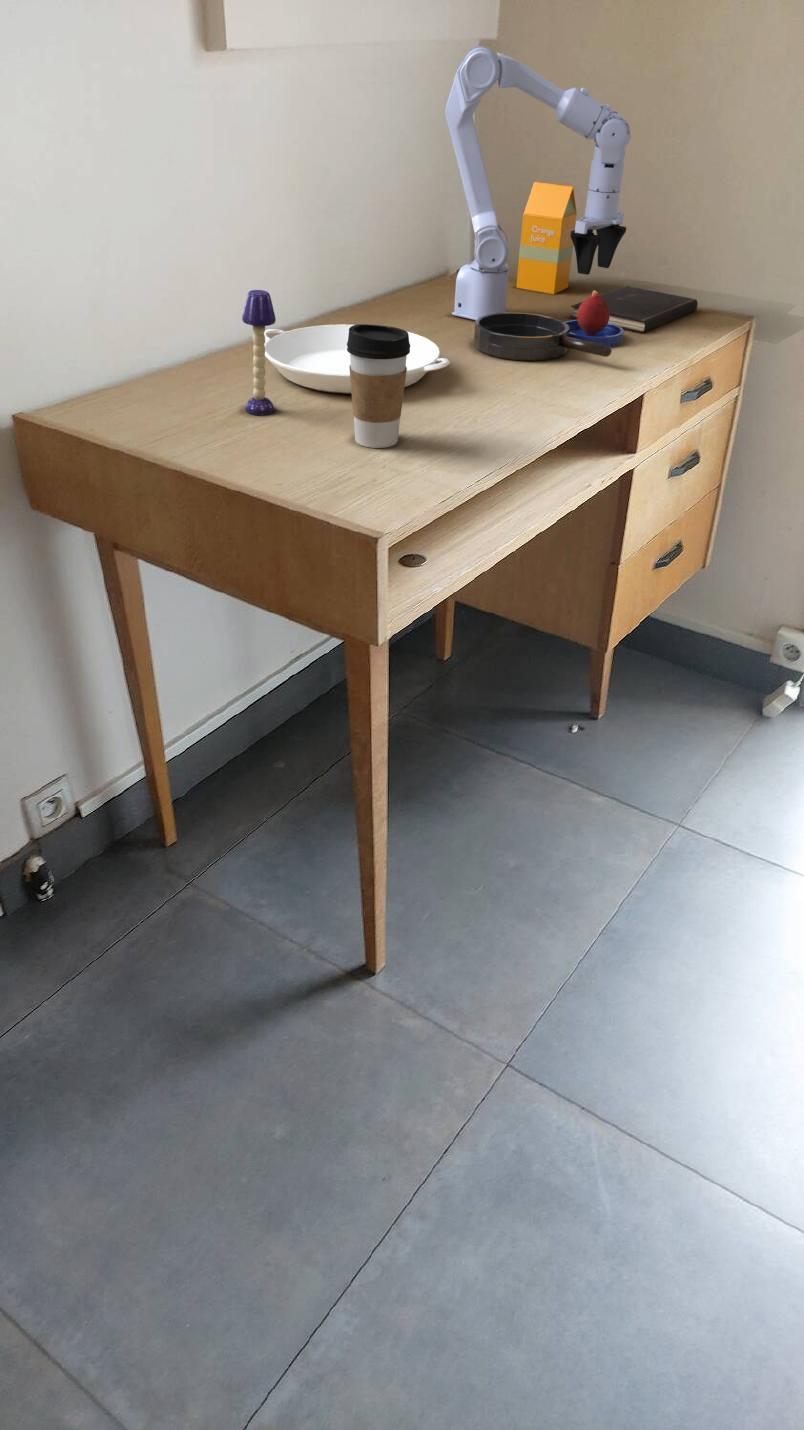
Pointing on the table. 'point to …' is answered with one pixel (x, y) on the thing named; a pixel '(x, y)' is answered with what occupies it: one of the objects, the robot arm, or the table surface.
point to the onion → (593, 314)
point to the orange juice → (547, 238)
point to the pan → (336, 357)
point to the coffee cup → (377, 382)
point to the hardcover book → (643, 308)
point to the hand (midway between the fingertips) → (593, 270)
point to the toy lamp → (259, 347)
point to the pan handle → (585, 346)
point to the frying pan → (520, 336)
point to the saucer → (598, 334)
